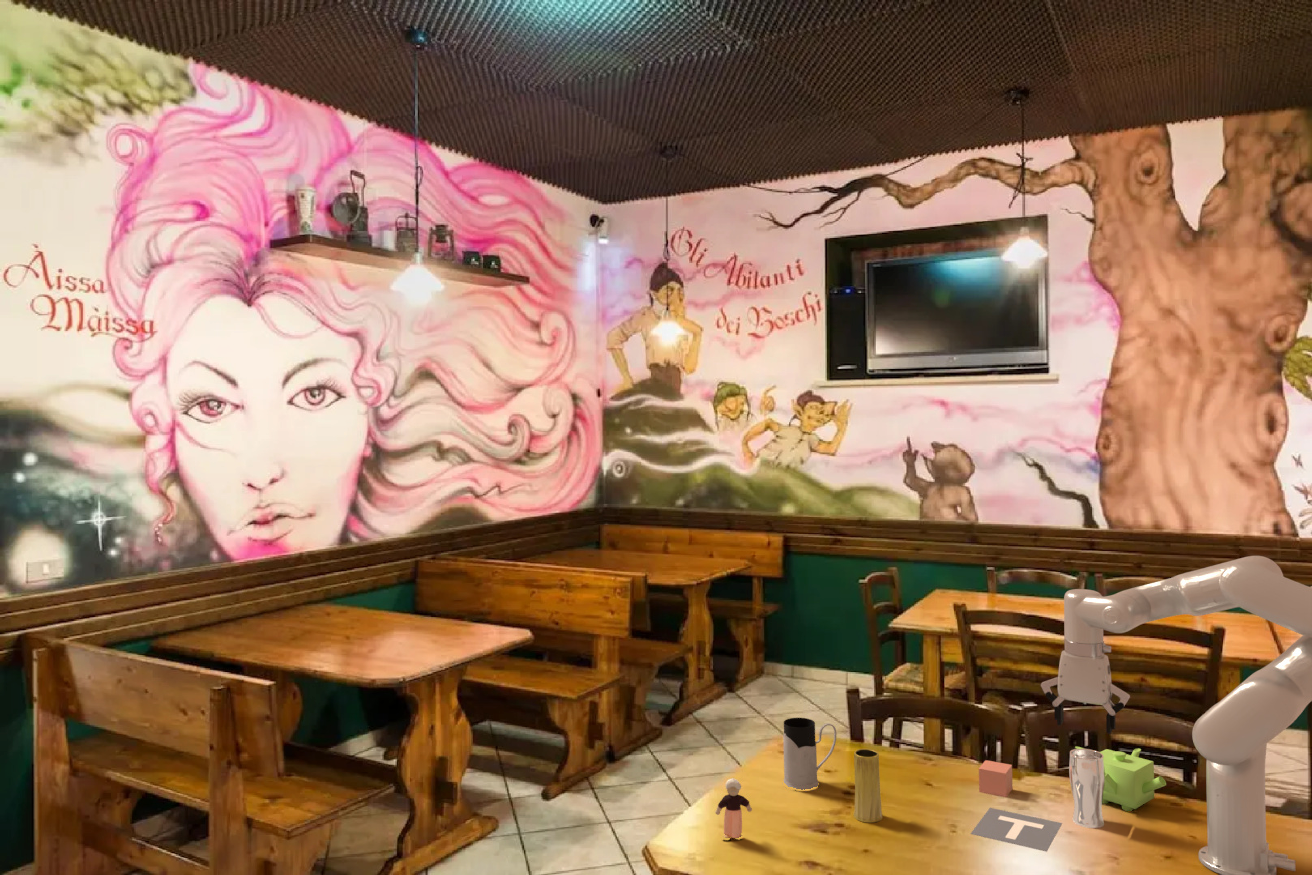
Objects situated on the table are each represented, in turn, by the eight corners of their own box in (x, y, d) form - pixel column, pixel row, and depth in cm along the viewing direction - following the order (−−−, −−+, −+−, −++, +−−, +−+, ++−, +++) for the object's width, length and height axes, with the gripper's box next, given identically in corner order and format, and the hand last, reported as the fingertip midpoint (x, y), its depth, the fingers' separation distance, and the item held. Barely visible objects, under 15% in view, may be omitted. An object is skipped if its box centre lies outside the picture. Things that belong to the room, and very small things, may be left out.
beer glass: (1110, 831, 190) (1108, 760, 190) (1074, 829, 191) (1073, 759, 191) (1101, 817, 197) (1099, 748, 196) (1066, 815, 198) (1065, 747, 198)
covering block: (1012, 790, 212) (1012, 764, 212) (1006, 799, 207) (1005, 773, 207) (986, 785, 216) (985, 760, 216) (979, 794, 211) (978, 768, 211)
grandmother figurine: (720, 844, 189) (719, 784, 189) (714, 836, 193) (713, 777, 193) (755, 839, 191) (753, 779, 191) (748, 831, 195) (746, 772, 195)
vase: (850, 820, 199) (849, 755, 199) (858, 809, 204) (856, 746, 204) (878, 825, 196) (876, 759, 196) (885, 813, 202) (883, 750, 201)
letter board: (1062, 824, 194) (1062, 822, 194) (1046, 853, 181) (1046, 851, 181) (989, 809, 202) (989, 807, 202) (970, 835, 190) (970, 833, 190)
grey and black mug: (776, 780, 222) (775, 719, 222) (828, 771, 227) (826, 712, 226) (792, 793, 214) (790, 730, 214) (846, 784, 218) (844, 722, 218)
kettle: (1075, 788, 212) (1074, 740, 212) (1138, 789, 211) (1137, 741, 211) (1100, 815, 197) (1099, 764, 197) (1168, 816, 196) (1167, 765, 196)
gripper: (1131, 649, 191) (1132, 729, 192) (1044, 639, 201) (1045, 715, 202) (1126, 657, 185) (1127, 740, 186) (1036, 646, 195) (1037, 725, 196)
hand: (1084, 727), depth 194 cm, fingers open, 9 cm apart
